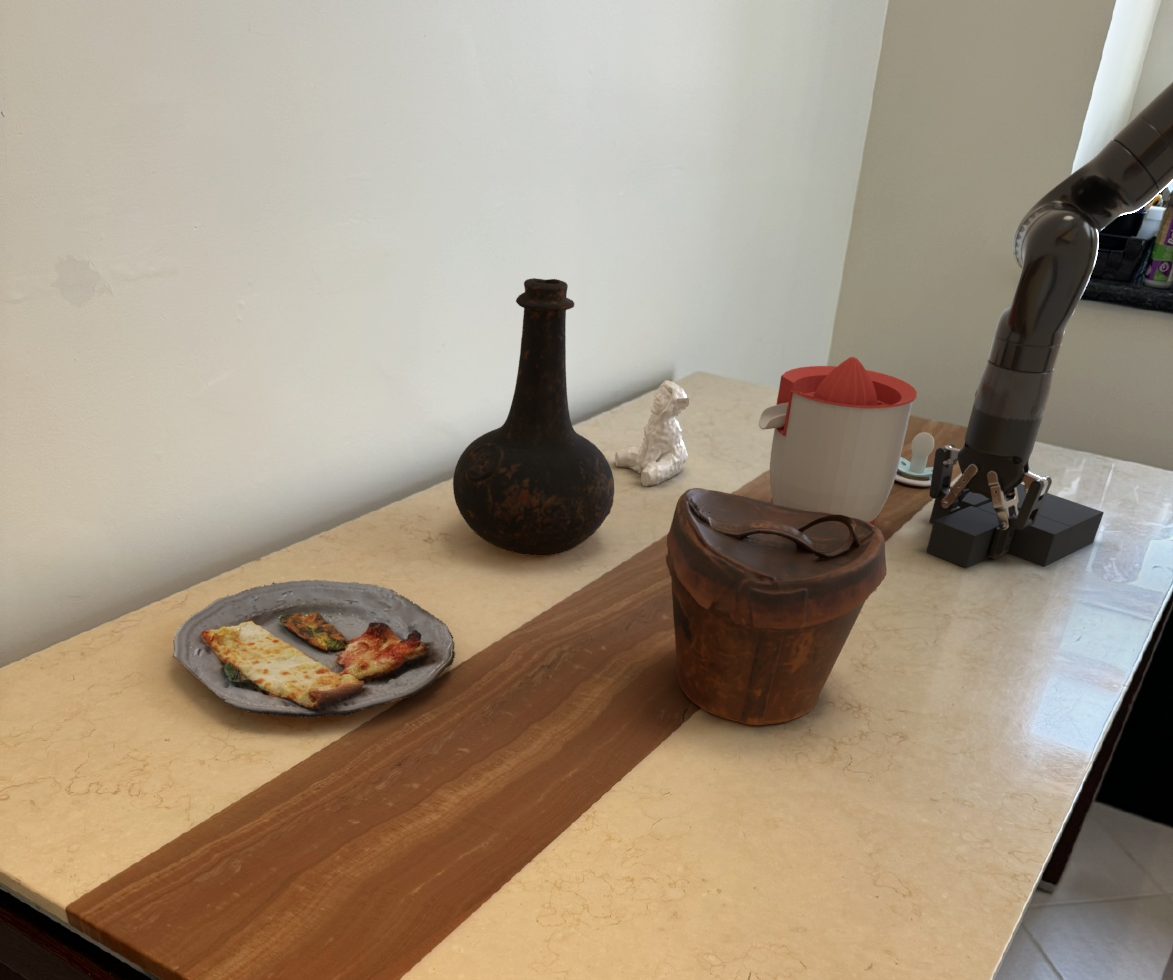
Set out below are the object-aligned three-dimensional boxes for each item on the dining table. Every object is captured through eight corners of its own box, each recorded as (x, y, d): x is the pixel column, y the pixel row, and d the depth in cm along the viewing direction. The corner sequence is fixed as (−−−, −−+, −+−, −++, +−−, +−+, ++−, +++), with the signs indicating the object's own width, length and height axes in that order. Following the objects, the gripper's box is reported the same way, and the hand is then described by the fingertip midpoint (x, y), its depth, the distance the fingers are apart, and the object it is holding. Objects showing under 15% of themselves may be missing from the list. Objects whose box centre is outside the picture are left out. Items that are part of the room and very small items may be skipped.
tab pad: (1018, 544, 135) (1028, 513, 132) (966, 568, 128) (975, 536, 126) (979, 529, 138) (988, 499, 136) (925, 552, 131) (934, 520, 129)
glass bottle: (425, 528, 128) (418, 268, 112) (550, 500, 138) (559, 256, 121) (512, 587, 117) (518, 307, 101) (641, 552, 127) (665, 291, 110)
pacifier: (932, 493, 148) (944, 479, 152) (943, 448, 144) (956, 434, 148) (880, 481, 150) (893, 467, 155) (889, 436, 147) (903, 423, 151)
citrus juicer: (735, 497, 142) (758, 335, 130) (868, 502, 143) (902, 342, 132) (755, 547, 129) (782, 372, 118) (900, 552, 130) (941, 379, 119)
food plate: (502, 677, 102) (502, 643, 100) (278, 766, 88) (273, 730, 86) (351, 581, 116) (348, 549, 114) (138, 645, 103) (131, 611, 101)
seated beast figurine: (610, 463, 150) (616, 373, 143) (664, 456, 153) (673, 367, 146) (645, 488, 143) (654, 394, 136) (701, 480, 146) (712, 388, 139)
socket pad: (1093, 542, 136) (1104, 512, 134) (1044, 566, 130) (1054, 534, 127) (980, 501, 146) (988, 472, 143) (929, 521, 139) (936, 491, 137)
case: (898, 713, 101) (947, 528, 90) (719, 766, 92) (750, 567, 82) (779, 628, 113) (809, 456, 103) (611, 668, 104) (626, 485, 94)
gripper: (1085, 418, 120) (1040, 560, 130) (971, 384, 129) (936, 520, 138) (1051, 430, 116) (1006, 576, 126) (934, 394, 124) (901, 533, 134)
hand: (969, 546), depth 132 cm, fingers open, 6 cm apart
